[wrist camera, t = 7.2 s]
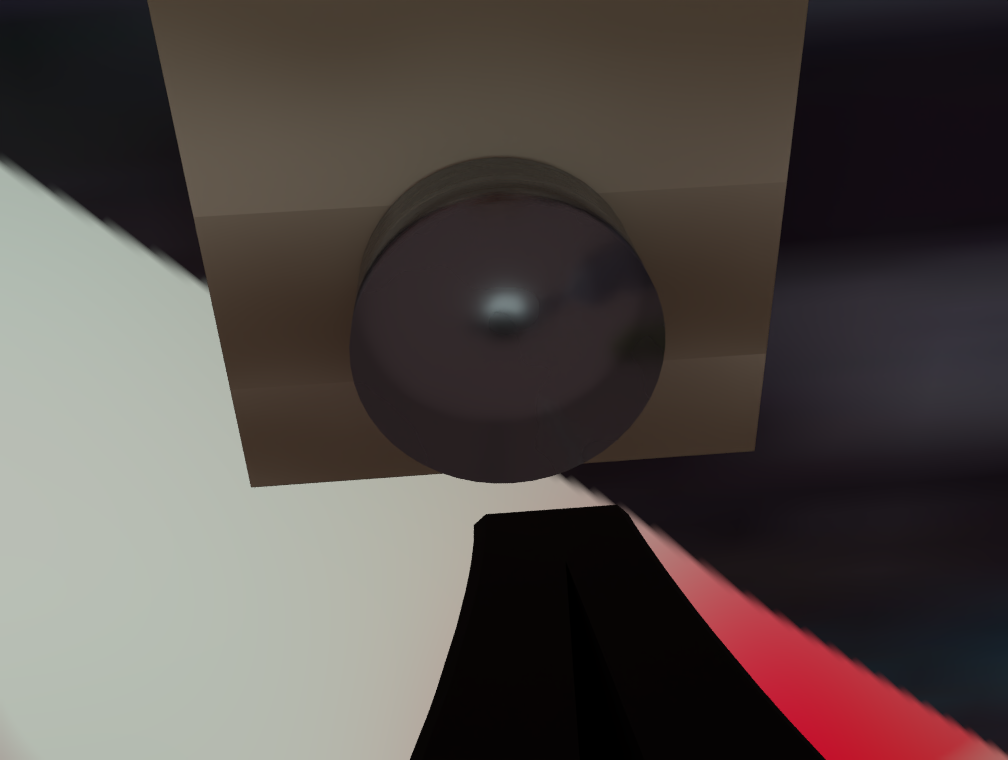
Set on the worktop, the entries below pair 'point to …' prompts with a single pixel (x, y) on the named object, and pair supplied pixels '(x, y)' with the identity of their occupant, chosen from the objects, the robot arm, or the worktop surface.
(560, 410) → the knob
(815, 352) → the worktop surface
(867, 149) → the worktop surface
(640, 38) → the knob bar
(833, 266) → the worktop surface
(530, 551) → the robot arm
